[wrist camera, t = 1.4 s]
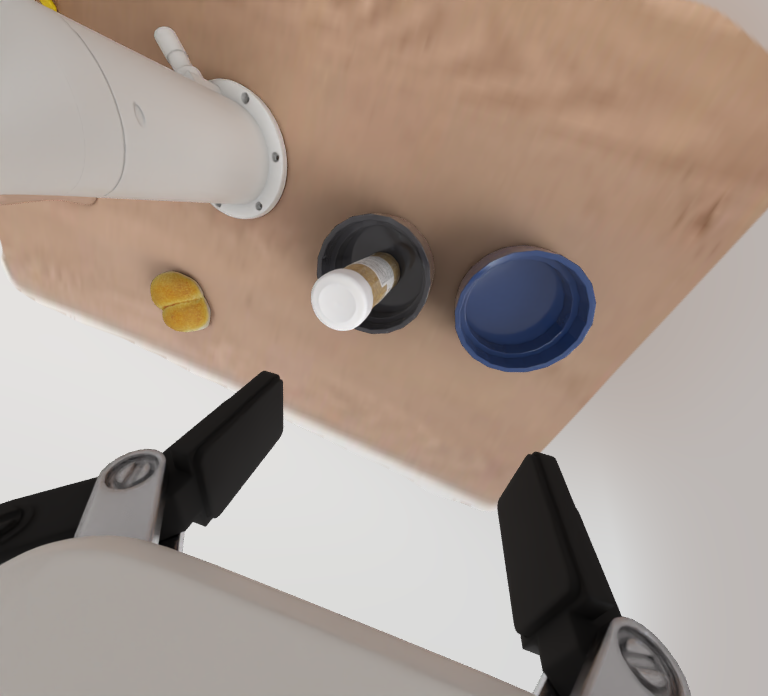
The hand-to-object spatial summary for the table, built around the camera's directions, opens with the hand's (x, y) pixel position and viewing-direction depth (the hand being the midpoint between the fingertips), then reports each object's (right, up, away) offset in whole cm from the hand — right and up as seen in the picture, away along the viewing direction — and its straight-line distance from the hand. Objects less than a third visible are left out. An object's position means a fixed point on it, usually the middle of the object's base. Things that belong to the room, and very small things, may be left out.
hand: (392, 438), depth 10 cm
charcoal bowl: (0, +13, +22) cm, 25 cm away
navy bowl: (+14, +8, +20) cm, 26 cm away
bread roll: (-30, +11, +31) cm, 45 cm away
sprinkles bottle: (0, +12, +22) cm, 25 cm away
